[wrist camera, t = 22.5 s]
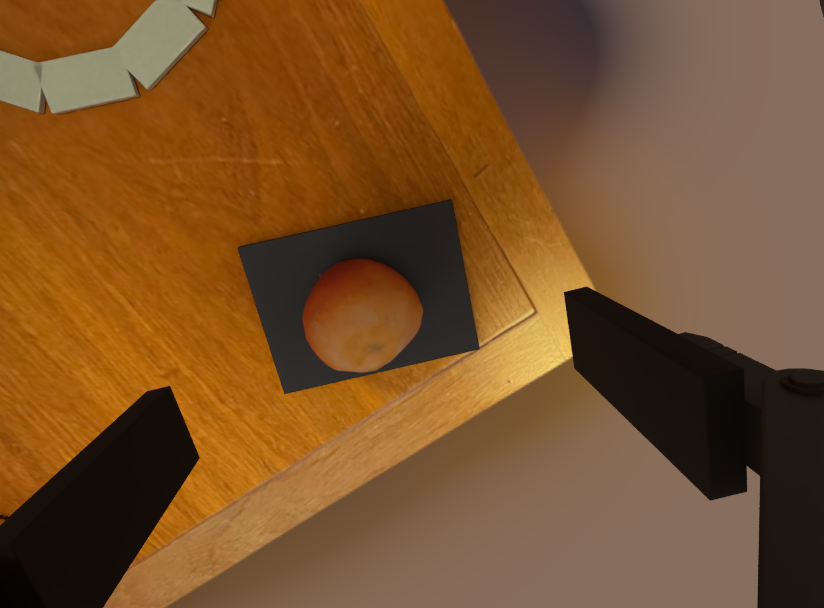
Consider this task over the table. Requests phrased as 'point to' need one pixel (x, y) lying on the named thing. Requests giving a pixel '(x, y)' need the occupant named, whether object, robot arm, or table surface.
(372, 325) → the fruit
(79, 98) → the segmented grey ring
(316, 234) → the mat
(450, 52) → the table surface
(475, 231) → the table surface
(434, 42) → the table surface
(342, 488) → the table surface
